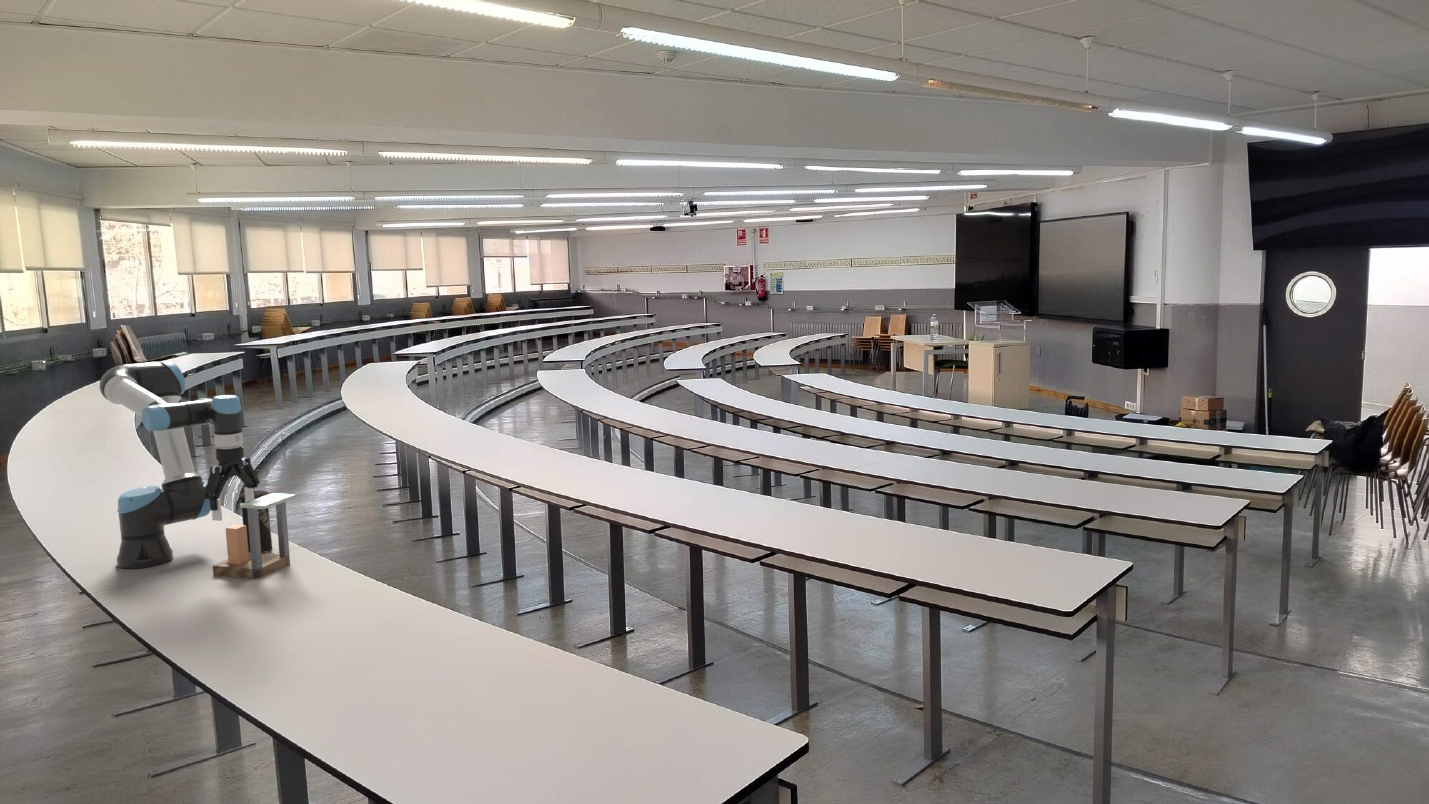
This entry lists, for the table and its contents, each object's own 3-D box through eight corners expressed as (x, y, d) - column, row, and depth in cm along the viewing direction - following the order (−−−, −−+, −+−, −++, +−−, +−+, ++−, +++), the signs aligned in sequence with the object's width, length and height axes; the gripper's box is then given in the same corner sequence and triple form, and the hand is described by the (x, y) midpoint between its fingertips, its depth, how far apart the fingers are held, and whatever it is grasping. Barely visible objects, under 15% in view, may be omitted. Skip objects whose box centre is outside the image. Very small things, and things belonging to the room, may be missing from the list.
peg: (229, 571, 274) (225, 528, 271) (238, 567, 277) (235, 524, 275) (240, 572, 273) (236, 528, 271) (249, 568, 276) (246, 525, 274)
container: (261, 555, 290) (256, 495, 287) (237, 553, 292) (232, 494, 289) (279, 547, 299) (274, 489, 296) (255, 545, 300) (251, 487, 297)
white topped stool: (245, 577, 269) (239, 504, 265) (277, 563, 282) (272, 492, 279) (269, 580, 267) (264, 506, 264) (301, 565, 280) (296, 494, 277)
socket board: (213, 575, 271) (212, 565, 271) (246, 560, 285) (246, 551, 284) (258, 579, 268) (257, 569, 267) (290, 564, 281) (289, 555, 281)
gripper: (208, 455, 256) (213, 526, 260) (269, 439, 280) (273, 504, 284) (186, 454, 258) (191, 524, 261) (248, 437, 282) (253, 502, 285)
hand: (234, 514), depth 273 cm, fingers open, 13 cm apart
